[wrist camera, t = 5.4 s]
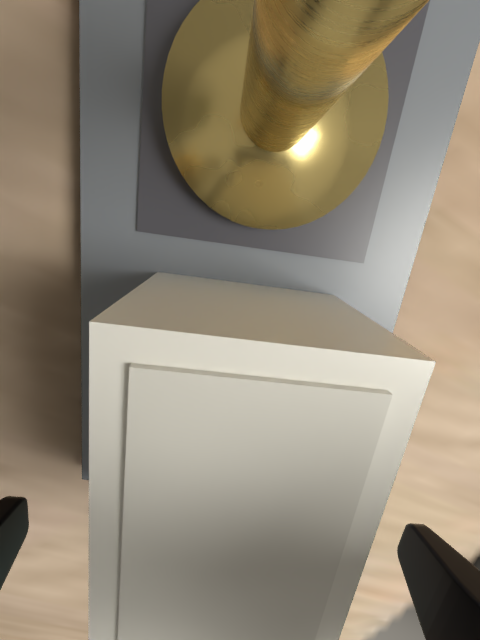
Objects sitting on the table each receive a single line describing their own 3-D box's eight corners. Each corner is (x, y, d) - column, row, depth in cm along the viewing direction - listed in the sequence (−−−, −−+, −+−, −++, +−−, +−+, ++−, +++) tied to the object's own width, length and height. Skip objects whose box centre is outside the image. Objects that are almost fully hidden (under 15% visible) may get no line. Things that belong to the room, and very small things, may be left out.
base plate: (337, 486, 13) (343, 500, 12) (88, 467, 12) (80, 481, 11) (474, 10, 8) (496, -8, 8) (89, -75, 8) (77, -104, 7)
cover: (287, 494, 12) (330, 678, 7) (144, 484, 12) (85, 672, 7) (333, 295, 10) (442, 365, 5) (158, 272, 9) (84, 324, 4)
